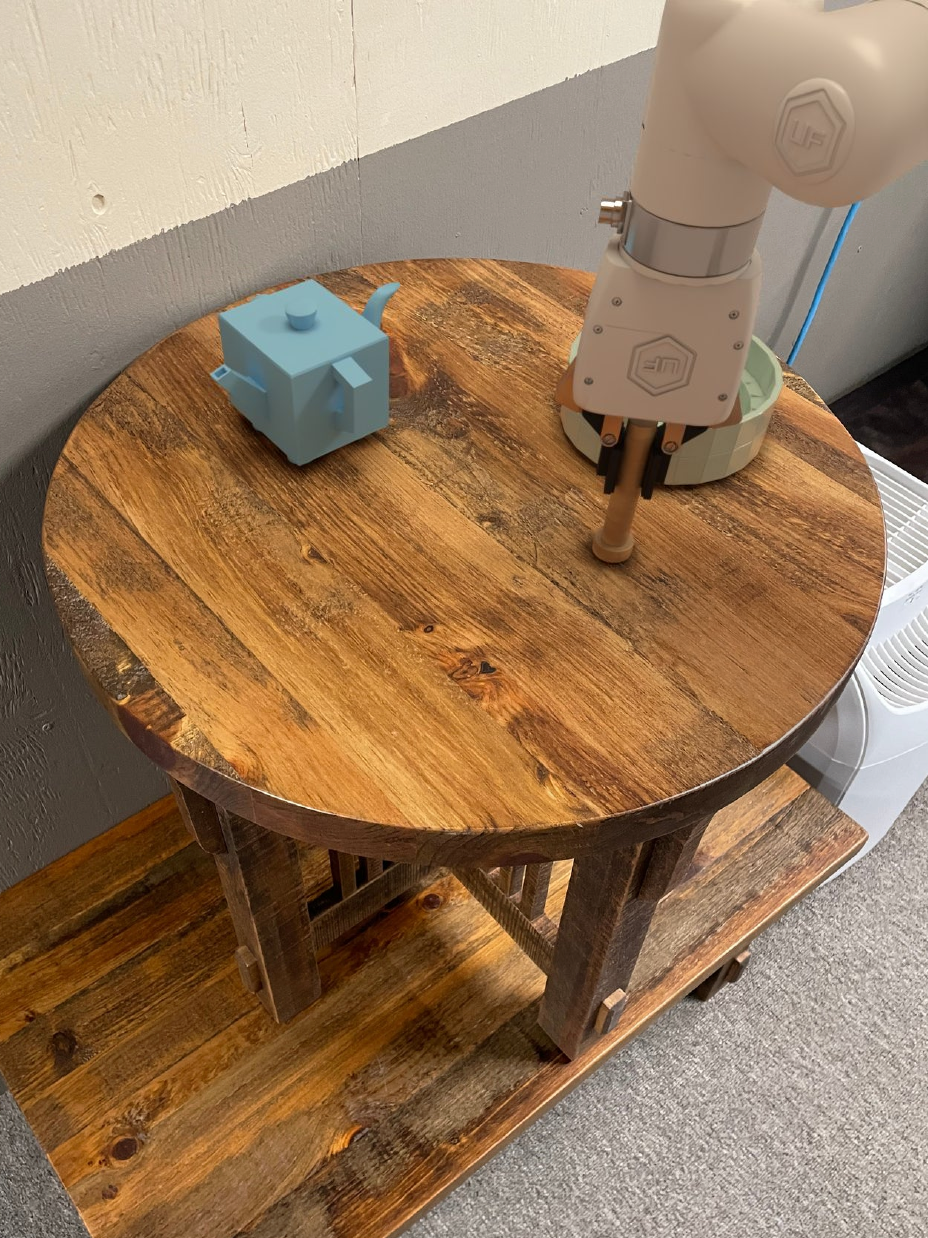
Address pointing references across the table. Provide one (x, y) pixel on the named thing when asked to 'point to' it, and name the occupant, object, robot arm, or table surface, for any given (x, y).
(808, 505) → the table surface
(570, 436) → the bowl
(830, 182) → the robot arm
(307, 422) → the teapot
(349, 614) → the table surface
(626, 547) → the rod
